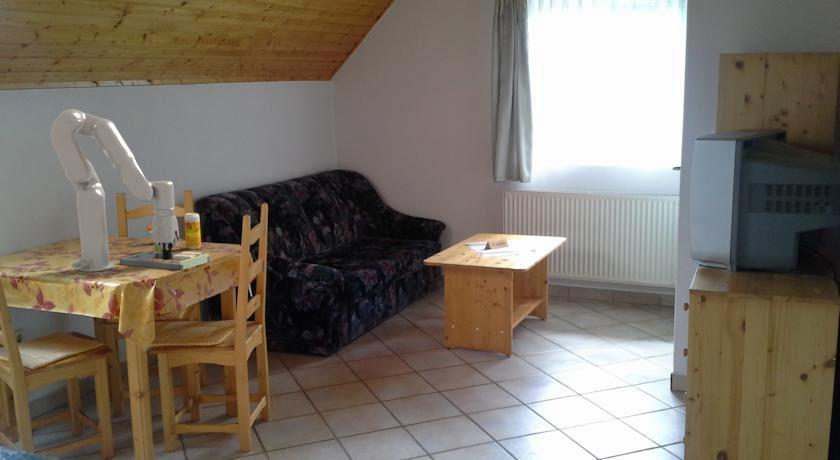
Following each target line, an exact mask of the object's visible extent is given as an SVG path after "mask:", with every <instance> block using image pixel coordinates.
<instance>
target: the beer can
mask: <svg viewBox="0 0 840 460" xmlns="http://www.w3.org/2000/svg"><path fill="white" fill-rule="evenodd" d="M200 220H201V219H200V214H199V213H197V212H189V213H185V215H184V230H185V246H186V248H187V250H199V249H200V248H201V247H202V238H201V237H202V236H201V221H200Z"/></svg>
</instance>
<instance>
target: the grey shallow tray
mask: <svg viewBox="0 0 840 460" xmlns="http://www.w3.org/2000/svg"><path fill="white" fill-rule="evenodd" d="M171 254H172V259H171V260H173V255H176V254H177V253H172V252H171ZM156 258H157V259H160V258H161V259H163V254H162V252H155V251H153V250H152V251H151V250H149V251H144V252H142V253H138V254H133V255H129V256H126V257H123V258H119V265H127V266H135V267H137V266H138V267H147V268H157V269H158V268H159V269H165V270H166V269H168V270H176V271H184V270H186V269H189V268H193V267H196V266H200V265H203V264H206V263H209V262H210V253H205V254H202V255H201V256H197V257H194V258H191V259H187V260H184V261H180V262H178V264H175V263H173V262H166V261H165V262H162V261H154V260H153V259H156ZM151 260H152V261H151Z"/></svg>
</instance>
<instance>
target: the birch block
mask: <svg viewBox="0 0 840 460" xmlns="http://www.w3.org/2000/svg"><path fill="white" fill-rule="evenodd" d="M175 254H176V255H173V259H172V263H175V264H178V262H180V261H184V260H187V259H191V258H194V257H197V256H201V255H203V252H196V251H182V252H180V253H175Z"/></svg>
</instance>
